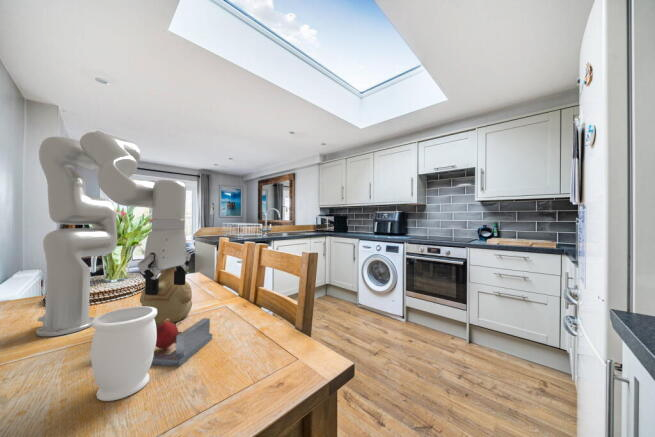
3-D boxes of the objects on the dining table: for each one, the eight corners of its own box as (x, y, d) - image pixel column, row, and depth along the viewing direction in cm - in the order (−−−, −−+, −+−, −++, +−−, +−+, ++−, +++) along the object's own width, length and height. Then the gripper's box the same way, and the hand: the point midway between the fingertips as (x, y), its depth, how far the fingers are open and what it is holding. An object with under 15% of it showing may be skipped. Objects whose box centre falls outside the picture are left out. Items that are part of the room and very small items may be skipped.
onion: (164, 356, 61) (166, 324, 61) (146, 353, 62) (147, 322, 63) (182, 345, 67) (183, 316, 67) (165, 342, 68) (166, 314, 68)
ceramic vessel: (203, 309, 94) (204, 245, 95) (172, 332, 75) (174, 251, 75) (159, 309, 94) (161, 245, 94) (116, 332, 74) (119, 251, 75)
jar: (117, 372, 55) (120, 305, 55) (165, 370, 55) (167, 305, 56) (72, 408, 44) (75, 325, 44) (132, 405, 45) (135, 324, 45)
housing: (94, 361, 59) (95, 334, 59) (142, 334, 73) (143, 313, 73) (179, 366, 57) (180, 339, 57) (212, 338, 71) (212, 316, 71)
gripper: (178, 225, 74) (176, 281, 74) (126, 226, 57) (123, 298, 57) (201, 226, 74) (199, 282, 73) (155, 226, 56) (153, 300, 56)
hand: (166, 289), depth 65 cm, fingers open, 9 cm apart
